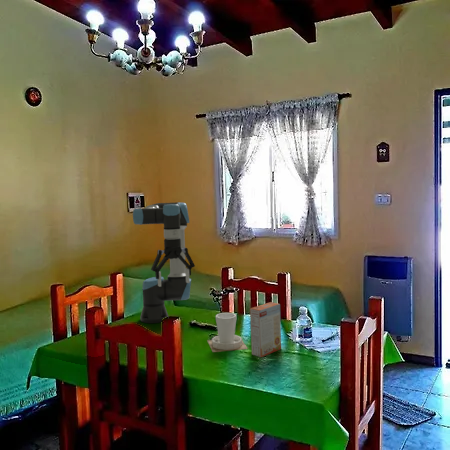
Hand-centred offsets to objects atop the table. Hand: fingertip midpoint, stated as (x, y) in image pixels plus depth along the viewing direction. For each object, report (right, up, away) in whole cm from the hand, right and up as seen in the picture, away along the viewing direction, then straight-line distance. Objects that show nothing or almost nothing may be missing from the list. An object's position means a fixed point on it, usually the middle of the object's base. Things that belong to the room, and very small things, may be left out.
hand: (173, 284), depth 213 cm
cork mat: (+24, -28, +1) cm, 37 cm away
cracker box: (+42, -29, -9) cm, 51 cm away
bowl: (+24, -28, +1) cm, 37 cm away
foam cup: (+24, -27, +1) cm, 37 cm away
